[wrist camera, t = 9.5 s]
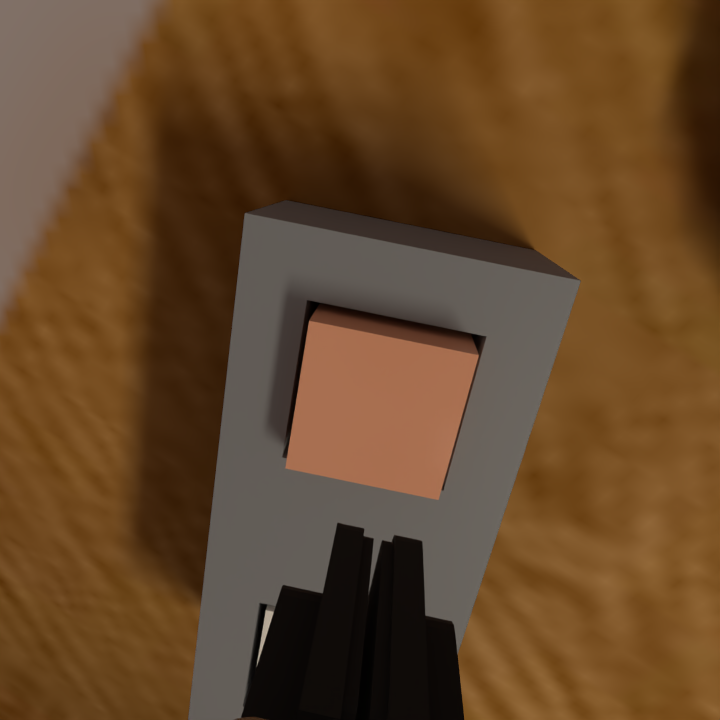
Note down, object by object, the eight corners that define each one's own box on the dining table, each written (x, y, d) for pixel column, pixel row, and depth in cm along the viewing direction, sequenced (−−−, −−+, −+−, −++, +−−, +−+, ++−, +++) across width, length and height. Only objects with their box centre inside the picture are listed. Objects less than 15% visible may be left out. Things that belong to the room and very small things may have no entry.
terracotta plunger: (430, 418, 23) (438, 500, 18) (314, 394, 23) (285, 468, 18) (460, 305, 22) (478, 355, 16) (334, 279, 22) (309, 320, 16)
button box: (413, 662, 29) (415, 781, 24) (228, 623, 29) (186, 732, 24) (535, 250, 22) (580, 280, 16) (286, 200, 22) (244, 212, 16)
